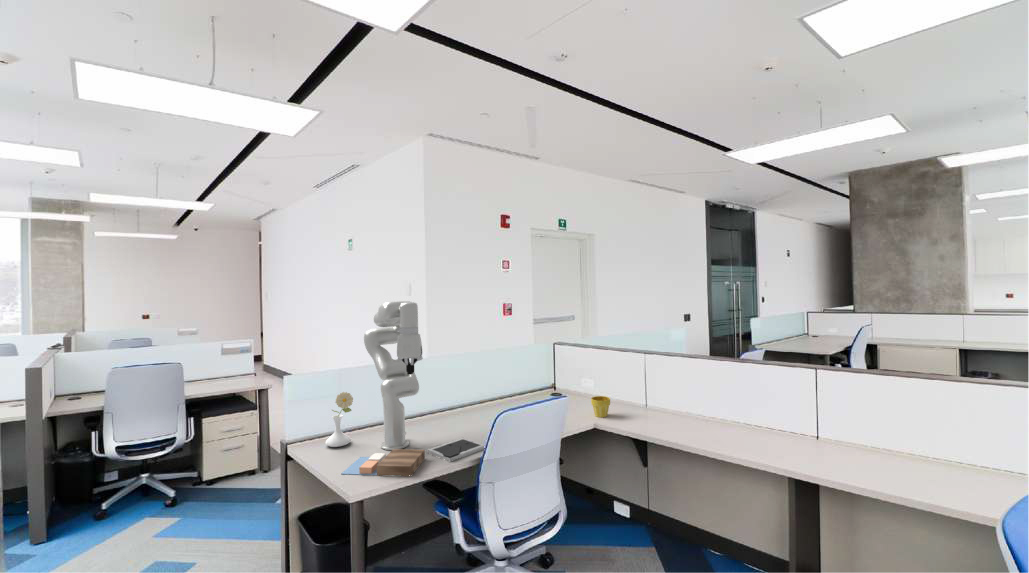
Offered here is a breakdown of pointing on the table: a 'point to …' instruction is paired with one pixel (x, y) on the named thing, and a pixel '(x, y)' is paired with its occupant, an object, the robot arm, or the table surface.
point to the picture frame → (456, 449)
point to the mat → (357, 467)
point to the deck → (401, 462)
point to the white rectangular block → (377, 457)
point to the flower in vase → (338, 436)
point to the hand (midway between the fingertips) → (410, 373)
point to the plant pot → (600, 405)
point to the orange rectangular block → (368, 467)
